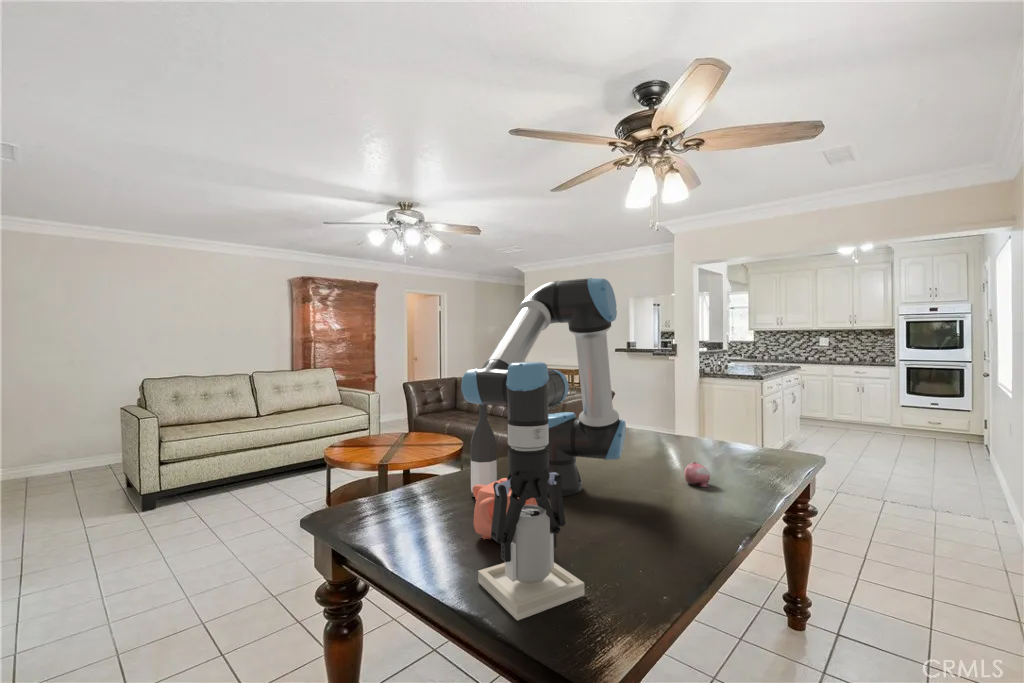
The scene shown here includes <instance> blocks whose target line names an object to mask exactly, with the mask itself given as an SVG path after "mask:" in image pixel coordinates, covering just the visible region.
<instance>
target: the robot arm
mask: <svg viewBox="0 0 1024 683" xmlns="http://www.w3.org/2000/svg"><path fill="white" fill-rule="evenodd" d="M617 315H618V310H617V300H616V294H615V292H614V288H613V286H612V285H611V283H610V281H609V280H607V279H606V278H603V277H601V278H593V277H589V278H580V279H578V278H577V279H567V280H554V281H550V282H547V283H544V284H542V285H540V286H539V287H537V288H535V289H534V290H533V291H531V292H530V293H529V294H528V295H526V296H525V298H524V299H523V300H522V301H521V302H520V303H519V305H518V307H517V309H516V317H515V318H514V320H513V321H512V323H511V324H510V325H509V327H508V329H507V330H506V331H505V333H504V334H503V336H502V337H501V339H500V340H499V342H498V344H497V345H496V347H495V348H494V350H493V351H492V352H491V354H490V356H489V357H488V358H487V360H485V363H484V364H483V366H482V367H481V368H473V369H468V370H467V371H465V372H464V374H463V376H462V378H461V383H460V385H461V386H460V387H461V388H460V390H461V393H462V397H463V398H464V400H465V401H466V402H468V403H469V404H476V405H479V404H482V405H487V406H489V405H490V406H507V444H508V446H509V448H508V449H507V468H508V475H507V477H506V478H507V481H504V482H502V483H498V482H495V483H494V485H493V488H494V493H495V501H494V510H493V519H492V528H491V538H492V540H494V541H495V542H496V543H498V544H500V557H501V560H503V561H504V563H505V576H507V577H508V578H509V579H510V580H511V581H512V582H514V581H517V580H516V543H515V542H513V541H512V540H513V537H514V533H515V530H516V525H517V523H518V520H519V516H520V514H521V510H522V507H523V506H524V505H525V503H526V500H528V499H530V498H535V500H536V502H537V505H538V506H539V507H541V508H543V509H545V510H546V514H547V516H548V517H549V518H550V570H551V569H554V563H555V556H554V555H555V552H554V551H555V550H554V549H556V547H557V534H559V533H560V532H561V528H560V527H565V525H566V515H565V510H564V501H563V497H566V496H573V495H576V494H579V493H581V492H582V490H583V482H582V479H581V476H580V472H579V468H578V467H577V458H585V459H586V458H588V459H599V460H604V461H607V460H612V461H616V460H619V459H620V458H621V456H622V453H623V451H624V446H625V445H624V444H625V440H626V432H627V431H626V428H627V427H626V426H627V425H626V421H625V420H623V419H620V415H619V414H620V413H619V412H618V411H617V410H615V409H614V407H613V396H612V394H613V393H612V385H611V382H612V381H611V371H610V370H611V369H610V360H609V348H608V335H607V332H608V331H609V330H610V329H611V327H612V322H615V321H616V320H617ZM558 323H561V324H562V323H563V324H565V323H566V324H568V330H569V332H570V333H572V334H573V335H574V336H575V337H574V338H575V346H576V355H577V365H578V374H579V382H580V384H579V385H580V391H581V392H580V394H581V400H582V403H581V404H582V411H581V412H580V413H579V415H578V417H577V415H576V413H575V412H569V411H566V412H555V413H549V408H551V407H555V406H558V405H559V404H561V402H563V401H564V400H565V399H566V398H567V396H568V394H569V390H570V386H569V381H568V378H567V377H566V375H565V374H564V373H563V372H561V371H560V370H558V369H552V368H548V365H547V363H545V362H541V361H526V359H527V358H528V356H529V353H530V352H531V350H532V348H533V347H534V344H535V343H536V341H537V339H538V337H539V336H540V334H541V333H542V331H544V330H546V329H547V328H548V327H549V326H550V325H551V324H558ZM525 361H526V362H525ZM509 488H511V489H512V492H511V496H510V504H509V507H508V511H507V514H506V510H507V500H508V499H507V495H508V494H509ZM517 497H519V499H518V498H517ZM549 500H550V502H549Z"/></svg>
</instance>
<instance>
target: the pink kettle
mask: <svg viewBox="0 0 1024 683" xmlns="http://www.w3.org/2000/svg"><path fill="white" fill-rule="evenodd" d="M507 478H508V477H502V478H500V479H499V480H498V479H497V481H495V482H498V483H502V482H504V481H507ZM495 482H493V483H490V484H488V485H481V484H477V485H474V486H473V488H472V491H473V494H474V497H475V498H474V499H475V505H474V510H473V512H474V513H473V527H474V530H475V533H476V534H478V535H481V539H482V538H483V539H482V540H485V539H489V540H491V528H492V519H493V510H494V501H495V493H494V488H493V485H494V483H495ZM511 492H512V489H511V488H509V494H508V495H507V499H508V500H507V510H506V514H507V511H508V507H509V504H510V496H511ZM517 498H518V499H519V497H517ZM525 505H537V502H536V500H535V498H530V499H528V500H526V503H525ZM537 506H538V505H537Z"/></svg>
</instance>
